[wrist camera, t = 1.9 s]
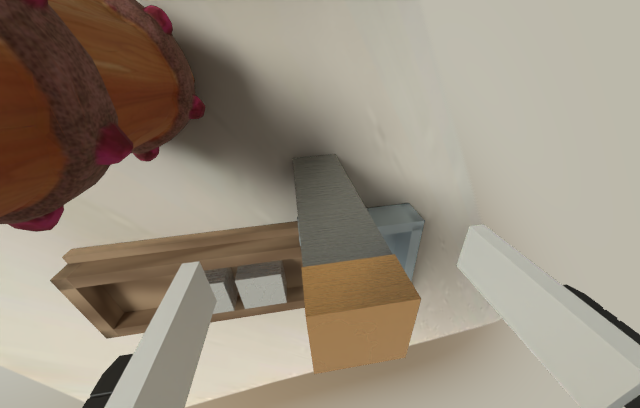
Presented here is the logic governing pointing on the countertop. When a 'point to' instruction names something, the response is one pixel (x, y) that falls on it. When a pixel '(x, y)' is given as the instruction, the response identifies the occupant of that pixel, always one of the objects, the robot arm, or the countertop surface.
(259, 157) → the countertop surface
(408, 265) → the tray
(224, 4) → the countertop surface
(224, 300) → the chip
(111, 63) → the mug
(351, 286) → the grey and tan block
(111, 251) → the slot board
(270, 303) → the chip
